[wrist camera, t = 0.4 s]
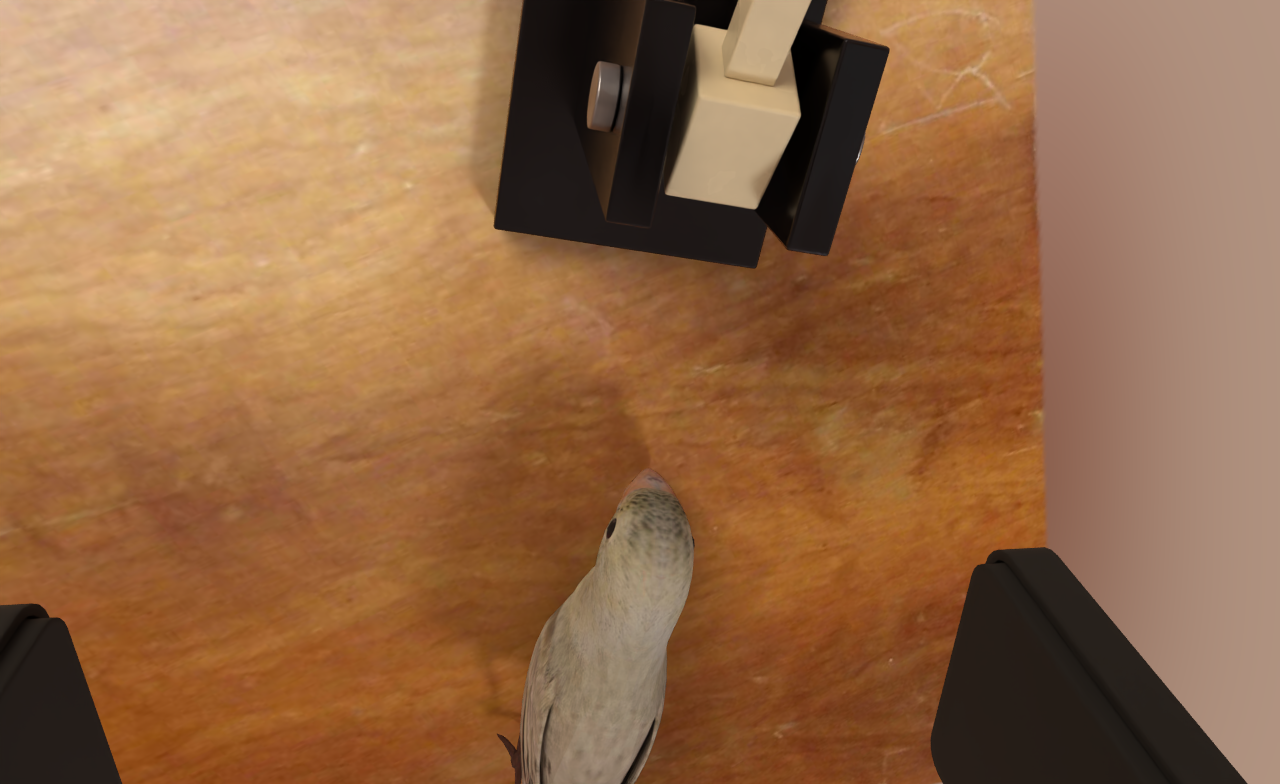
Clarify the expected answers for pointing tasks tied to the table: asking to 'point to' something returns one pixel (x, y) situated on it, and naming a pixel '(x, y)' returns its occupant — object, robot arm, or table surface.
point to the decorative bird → (609, 649)
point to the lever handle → (735, 105)
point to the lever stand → (667, 131)
